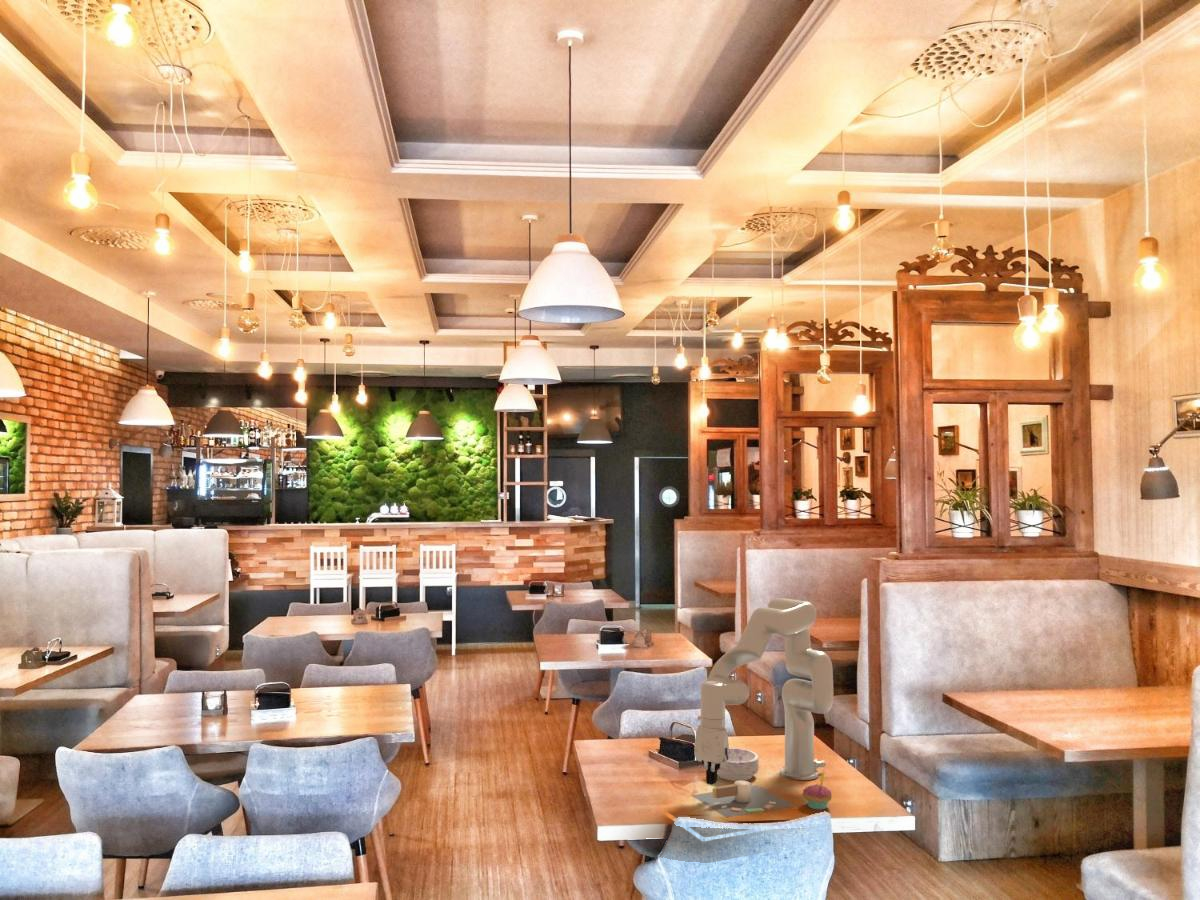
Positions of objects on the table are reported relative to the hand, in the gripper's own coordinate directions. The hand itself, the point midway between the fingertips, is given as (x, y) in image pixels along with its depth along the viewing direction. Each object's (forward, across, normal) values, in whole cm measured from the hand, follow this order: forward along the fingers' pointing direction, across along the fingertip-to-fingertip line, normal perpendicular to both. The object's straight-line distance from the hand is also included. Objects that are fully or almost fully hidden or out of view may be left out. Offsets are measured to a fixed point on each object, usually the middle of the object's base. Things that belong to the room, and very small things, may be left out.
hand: (711, 783), depth 282 cm
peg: (+4, +6, +2) cm, 8 cm away
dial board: (+6, +8, +5) cm, 11 cm away
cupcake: (+6, +27, +16) cm, 32 cm away
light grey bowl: (+6, -6, +24) cm, 25 cm away
